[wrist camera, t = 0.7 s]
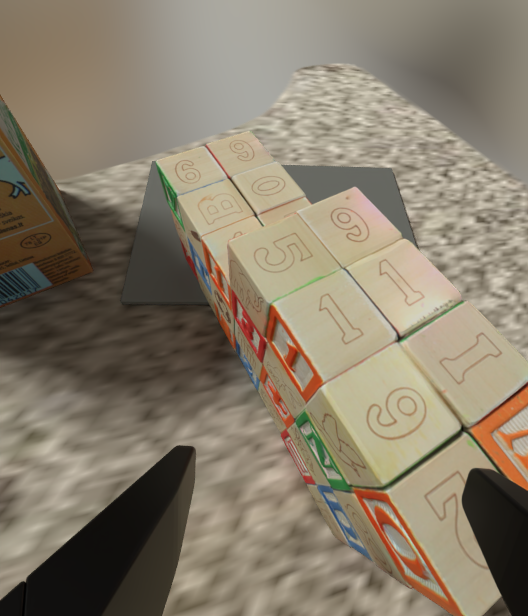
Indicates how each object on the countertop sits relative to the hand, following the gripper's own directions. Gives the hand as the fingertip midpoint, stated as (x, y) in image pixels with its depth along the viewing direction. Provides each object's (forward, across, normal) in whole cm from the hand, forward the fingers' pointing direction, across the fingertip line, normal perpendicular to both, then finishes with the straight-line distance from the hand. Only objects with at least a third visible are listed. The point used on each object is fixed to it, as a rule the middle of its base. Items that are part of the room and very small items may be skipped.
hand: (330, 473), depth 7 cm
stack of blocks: (+15, 0, +4) cm, 16 cm away
